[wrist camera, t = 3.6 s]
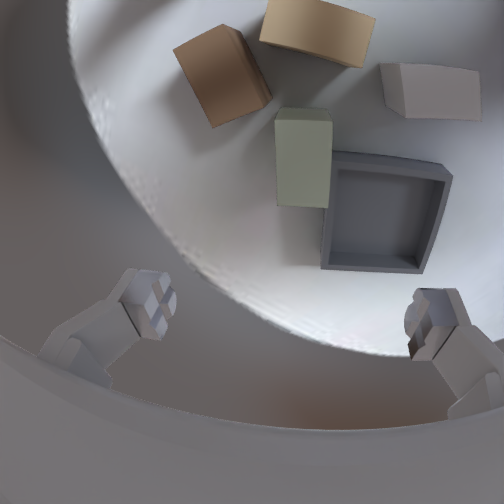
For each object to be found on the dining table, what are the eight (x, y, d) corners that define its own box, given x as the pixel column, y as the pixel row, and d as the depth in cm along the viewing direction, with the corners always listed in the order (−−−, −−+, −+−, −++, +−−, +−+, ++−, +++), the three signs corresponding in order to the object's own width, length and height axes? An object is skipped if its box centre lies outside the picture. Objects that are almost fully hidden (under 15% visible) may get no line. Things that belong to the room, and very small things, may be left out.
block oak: (269, 45, 16) (259, 40, 12) (278, 6, 14) (271, -10, 10) (349, 67, 16) (362, 68, 12) (359, 27, 14) (375, 18, 10)
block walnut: (199, 50, 17) (172, 50, 13) (240, 31, 16) (222, 23, 12) (231, 113, 20) (212, 128, 16) (272, 97, 19) (263, 107, 15)
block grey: (385, 105, 17) (406, 118, 14) (378, 62, 15) (399, 63, 12) (450, 106, 16) (481, 121, 12) (446, 66, 14) (479, 71, 10)
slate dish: (327, 150, 21) (330, 160, 19) (441, 163, 19) (453, 175, 17) (320, 252, 27) (320, 269, 25) (415, 257, 25) (422, 274, 23)
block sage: (280, 107, 19) (274, 119, 15) (326, 108, 19) (332, 121, 15) (282, 177, 23) (277, 205, 19) (324, 179, 22) (328, 208, 19)
